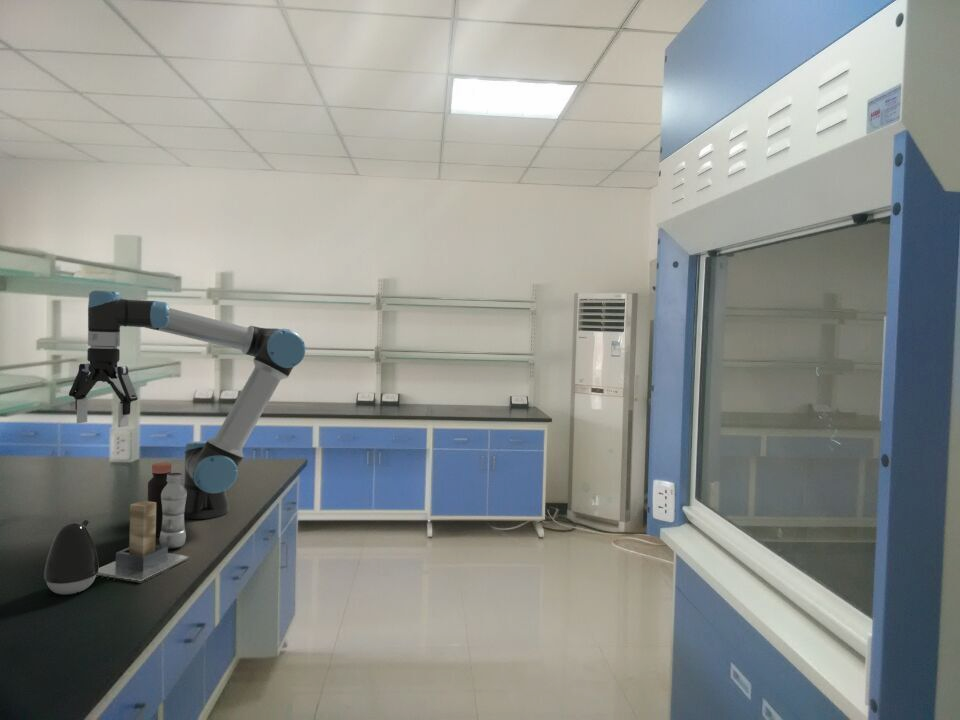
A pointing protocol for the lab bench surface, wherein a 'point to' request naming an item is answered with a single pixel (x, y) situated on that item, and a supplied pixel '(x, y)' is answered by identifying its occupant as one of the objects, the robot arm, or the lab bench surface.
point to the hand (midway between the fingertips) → (102, 424)
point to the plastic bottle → (173, 512)
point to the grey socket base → (140, 564)
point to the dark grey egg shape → (71, 560)
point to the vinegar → (158, 490)
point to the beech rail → (142, 527)
